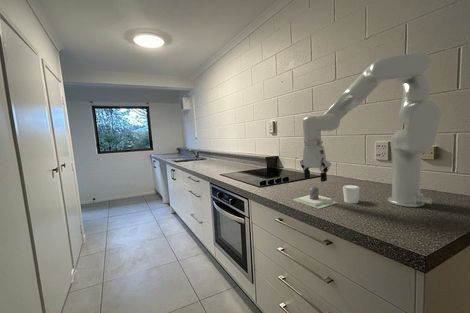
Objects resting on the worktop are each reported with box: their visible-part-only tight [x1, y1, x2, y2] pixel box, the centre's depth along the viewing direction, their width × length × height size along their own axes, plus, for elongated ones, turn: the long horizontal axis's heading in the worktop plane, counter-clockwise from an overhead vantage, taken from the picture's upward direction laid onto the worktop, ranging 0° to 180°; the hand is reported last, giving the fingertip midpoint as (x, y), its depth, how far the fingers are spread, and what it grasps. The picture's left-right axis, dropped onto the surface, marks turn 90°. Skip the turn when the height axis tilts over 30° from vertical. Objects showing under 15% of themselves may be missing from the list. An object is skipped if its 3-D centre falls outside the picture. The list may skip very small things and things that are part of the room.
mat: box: [292, 198, 338, 210], centre depth 105 cm, size 16×12×1 cm
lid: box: [296, 186, 333, 206], centre depth 104 cm, size 11×11×6 cm
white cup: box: [342, 184, 360, 204], centre depth 101 cm, size 7×7×7 cm
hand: (315, 179), depth 103 cm, fingers open, 9 cm apart
